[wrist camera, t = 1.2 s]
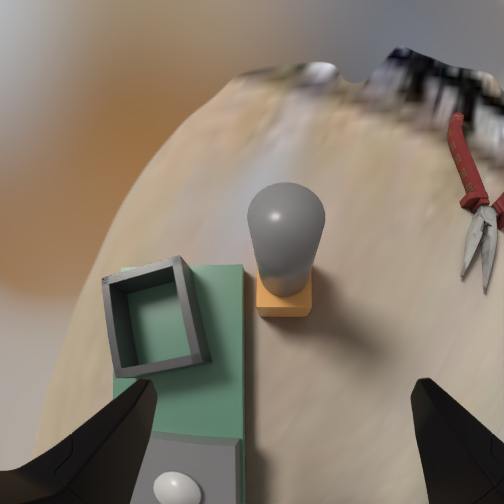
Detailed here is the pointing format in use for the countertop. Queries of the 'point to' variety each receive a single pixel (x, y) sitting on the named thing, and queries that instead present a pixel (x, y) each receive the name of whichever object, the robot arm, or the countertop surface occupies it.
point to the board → (176, 345)
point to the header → (122, 327)
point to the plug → (285, 247)
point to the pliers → (475, 201)
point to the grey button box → (189, 470)
